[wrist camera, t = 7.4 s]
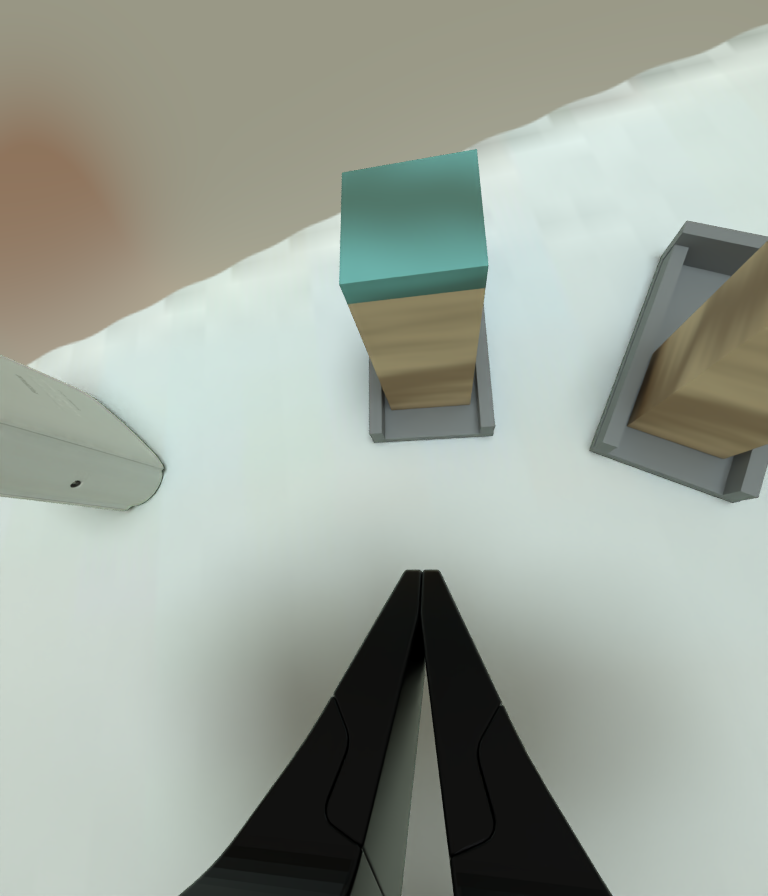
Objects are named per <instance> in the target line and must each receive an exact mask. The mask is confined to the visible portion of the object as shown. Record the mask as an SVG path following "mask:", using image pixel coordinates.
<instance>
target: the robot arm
mask: <svg viewBox="0 0 768 896" xmlns="http://www.w3.org/2000/svg"><path fill="white" fill-rule="evenodd" d="M425 663H426V671H427V679H428V687H429V696H430V704H431V712H432V720H433V728H434V737H435V745H436V753H437V761H438V769H439V778H440V786H441V794H442V802H443V811H444V819H445V827H446V835H447V843H448V852H449V860H450V868H451V876H452V884H453V893H454V896H613V895H612V894H611V892H610V891H609V889H608V888H607V886H606V884H605V883H604V881H603V880H602V878H601V877H600V875H599V873H598V872H597V870H596V868H595V867H594V865H593V863H592V862H591V860H590V858H589V857H588V855H587V854H586V852H585V850H584V849H583V847H582V845H581V844H580V842H579V840H578V839H577V837H576V835H575V834H574V832H573V830H572V829H571V827H570V825H569V824H568V822H567V820H566V819H565V817H564V815H563V814H562V812H561V811H560V809H559V807H558V806H557V804H556V802H555V801H554V799H553V797H552V796H551V794H550V792H549V791H548V789H547V787H546V786H545V784H544V782H543V780H542V779H541V777H540V775H539V773H538V772H537V770H536V768H535V766H534V764H533V763H532V761H531V759H530V757H529V756H528V754H527V752H526V750H525V748H524V746H523V744H522V742H521V740H520V738H519V736H518V734H517V732H516V730H515V728H514V726H513V724H512V722H511V720H510V718H509V716H508V714H507V712H506V709H505V707H504V706H503V705H502V701H501V699H500V697H499V695H498V693H497V691H496V689H495V687H494V684H493V682H492V680H491V678H490V676H489V674H488V672H487V670H486V667H485V665H484V663H483V661H482V659H481V657H480V655H479V653H478V651H477V648H476V646H475V644H474V642H473V640H472V638H471V636H470V634H469V631H468V629H467V627H466V625H465V623H464V621H463V619H462V617H461V615H460V612H459V610H458V608H457V606H456V604H455V602H454V600H453V598H452V595H451V593H450V591H449V589H448V587H447V585H446V583H445V581H444V578H443V576H442V574H441V572H440V571H439V570H424V571H423V572H422V571H421V570H406V571H405V572H404V573H403V575H402V576H401V578H400V580H399V581H398V583H397V585H396V587H395V588H394V590H393V592H392V593H391V595H390V597H389V599H388V600H387V602H386V604H385V605H384V607H383V609H382V611H381V612H380V614H379V616H378V617H377V619H376V621H375V623H374V624H373V626H372V628H371V630H370V631H369V633H368V635H367V636H366V638H365V640H364V642H363V643H362V645H361V647H360V648H359V650H358V652H357V654H356V655H355V657H354V659H353V660H352V662H351V664H350V666H349V667H348V669H347V671H346V672H345V674H344V676H343V678H342V679H341V681H340V683H339V685H338V686H337V688H336V690H335V691H334V697H333V696H332V697H331V698H330V700H329V701H328V703H327V705H326V707H325V708H324V710H323V712H322V713H321V715H320V717H319V718H318V720H317V722H316V723H315V725H314V726H313V728H312V730H311V731H310V733H309V734H308V736H307V738H306V739H305V741H304V742H303V744H302V745H301V746H300V748H299V749H298V751H297V752H296V754H295V755H294V757H293V758H292V760H291V761H290V762H289V764H288V765H287V767H286V768H285V769H284V771H283V772H282V774H281V775H280V776H279V778H278V779H277V781H276V782H275V783H274V785H273V786H272V787H271V789H270V790H269V792H268V793H267V794H266V796H265V797H264V798H263V800H262V801H261V803H260V804H259V805H258V807H257V808H256V809H255V811H254V812H253V814H252V815H251V816H250V818H249V819H248V821H247V822H246V823H245V825H244V826H243V827H242V829H241V830H240V832H239V833H238V834H237V836H236V837H235V838H234V840H233V841H232V842H231V844H230V845H229V846H228V847H227V849H226V850H225V851H224V852H223V853H222V855H221V856H220V857H219V858H218V859H217V860H216V861H215V862H214V863H213V865H212V866H211V867H210V868H209V869H208V870H207V871H206V872H205V873H204V874H203V875H202V876H201V877H200V878H198V879H197V880H196V881H195V882H194V883H193V884H192V885H191V886H189V887H188V888H187V889H186V890H185V891H183V892H182V893H181V894H180V895H179V896H401V891H402V882H403V873H404V863H405V854H406V845H407V835H408V826H409V816H410V807H411V798H412V788H413V779H414V769H415V760H416V751H417V741H418V732H419V722H420V713H421V704H422V694H423V685H424V675H425Z"/></svg>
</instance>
